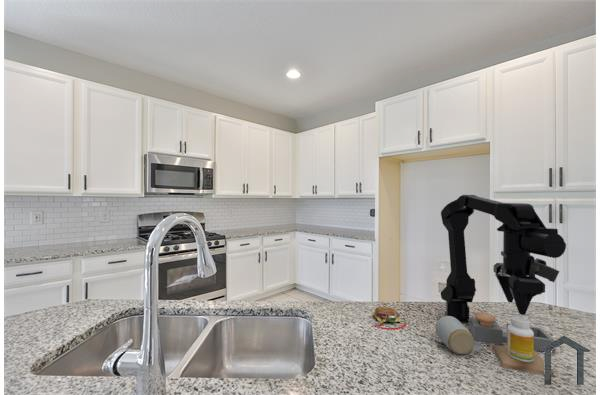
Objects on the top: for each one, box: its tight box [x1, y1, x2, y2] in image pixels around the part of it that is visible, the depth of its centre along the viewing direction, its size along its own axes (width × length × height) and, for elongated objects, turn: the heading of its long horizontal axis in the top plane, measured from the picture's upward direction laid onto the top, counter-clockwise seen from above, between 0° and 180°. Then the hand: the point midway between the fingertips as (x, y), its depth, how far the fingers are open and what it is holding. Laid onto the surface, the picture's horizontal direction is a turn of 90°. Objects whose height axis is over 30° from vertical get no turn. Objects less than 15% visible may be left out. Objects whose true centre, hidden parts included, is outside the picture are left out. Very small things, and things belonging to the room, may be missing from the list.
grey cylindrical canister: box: [434, 315, 483, 355], centre depth 78 cm, size 11×8×8 cm
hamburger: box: [371, 306, 407, 331], centre depth 96 cm, size 14×14×6 cm
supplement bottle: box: [506, 315, 534, 362], centre depth 72 cm, size 5×5×10 cm
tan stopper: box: [474, 311, 497, 327], centre depth 85 cm, size 5×5×6 cm
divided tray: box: [469, 316, 556, 355], centre depth 83 cm, size 19×9×4 cm, turn 69°
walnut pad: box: [491, 343, 555, 378], centre depth 72 cm, size 10×10×1 cm
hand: (515, 307), depth 75 cm, fingers open, 9 cm apart
